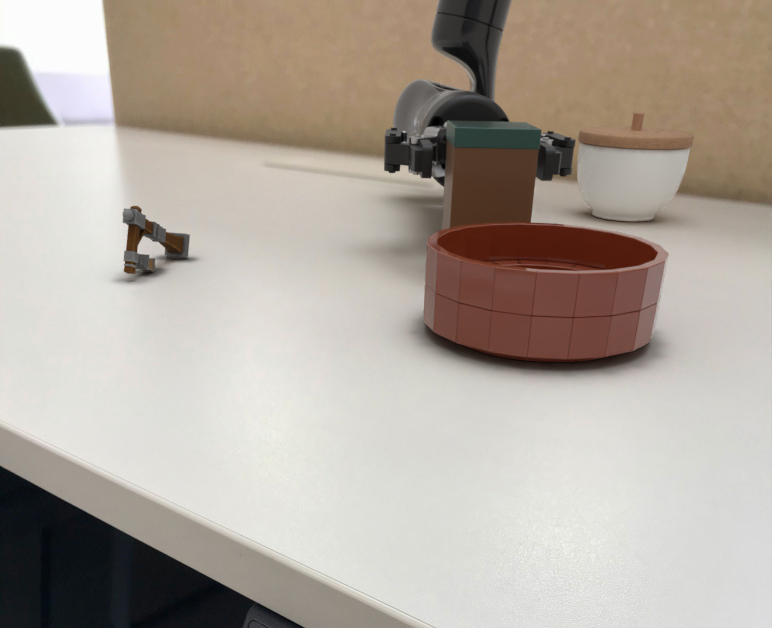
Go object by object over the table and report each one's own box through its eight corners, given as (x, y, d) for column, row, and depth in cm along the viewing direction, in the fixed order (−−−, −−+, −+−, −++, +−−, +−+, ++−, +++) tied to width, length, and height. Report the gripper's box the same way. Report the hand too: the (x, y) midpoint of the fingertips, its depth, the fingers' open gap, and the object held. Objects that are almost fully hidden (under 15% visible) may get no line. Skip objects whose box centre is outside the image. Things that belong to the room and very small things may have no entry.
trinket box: (612, 229, 76) (630, 118, 72) (548, 209, 85) (559, 109, 80) (701, 222, 80) (722, 117, 76) (630, 204, 89) (646, 108, 84)
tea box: (439, 266, 62) (447, 120, 57) (512, 267, 62) (526, 122, 57) (445, 284, 57) (454, 127, 52) (525, 286, 57) (541, 129, 52)
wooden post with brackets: (108, 268, 55) (113, 199, 54) (163, 290, 63) (168, 229, 62) (133, 270, 55) (138, 201, 54) (185, 292, 63) (190, 231, 62)
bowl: (502, 290, 56) (509, 214, 54) (687, 331, 49) (706, 245, 46) (377, 332, 47) (379, 243, 45) (580, 389, 40) (596, 287, 38)
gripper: (381, 89, 69) (387, 100, 55) (548, 93, 69) (598, 105, 55) (379, 184, 72) (385, 218, 58) (538, 187, 73) (582, 221, 59)
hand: (488, 163), depth 57 cm, fingers open, 8 cm apart
